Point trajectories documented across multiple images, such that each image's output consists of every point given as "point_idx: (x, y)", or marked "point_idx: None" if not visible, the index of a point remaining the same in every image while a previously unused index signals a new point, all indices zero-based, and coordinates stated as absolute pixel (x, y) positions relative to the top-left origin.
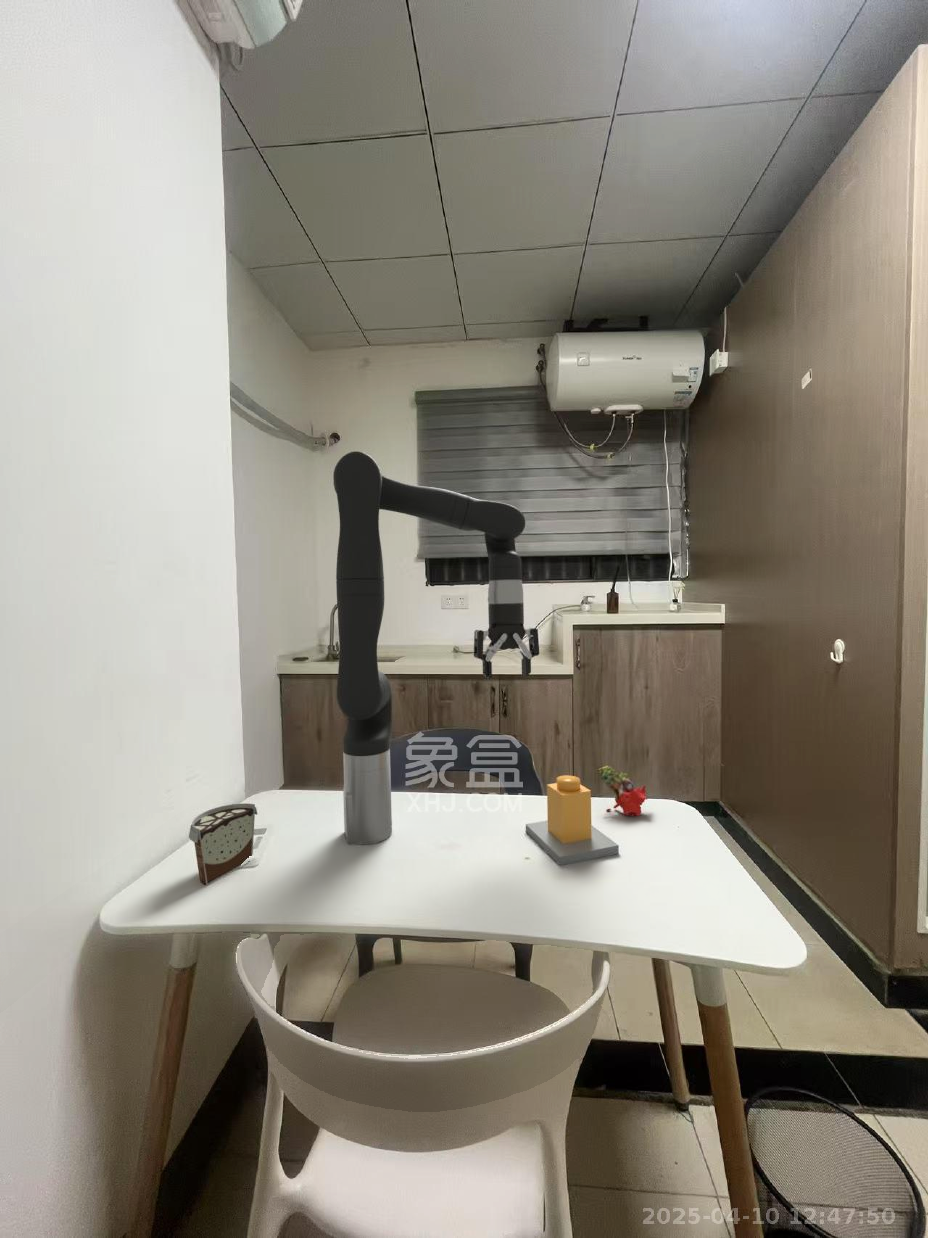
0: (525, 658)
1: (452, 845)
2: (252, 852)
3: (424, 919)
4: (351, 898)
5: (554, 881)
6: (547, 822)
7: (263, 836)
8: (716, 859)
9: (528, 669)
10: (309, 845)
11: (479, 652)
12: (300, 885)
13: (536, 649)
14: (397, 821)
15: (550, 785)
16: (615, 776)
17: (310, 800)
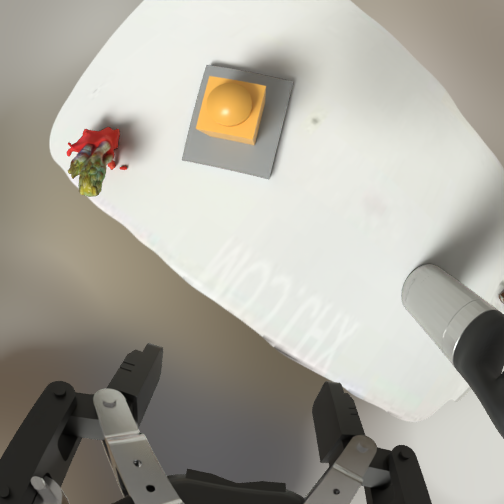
0: (131, 407)
1: (371, 206)
2: (502, 297)
3: (451, 108)
4: (481, 180)
5: (321, 66)
6: (237, 165)
7: None
8: (133, 21)
9: (140, 358)
10: None
11: (411, 468)
12: (496, 228)
13: (52, 406)
14: (384, 304)
15: (250, 132)
16: (90, 163)
17: (411, 394)
